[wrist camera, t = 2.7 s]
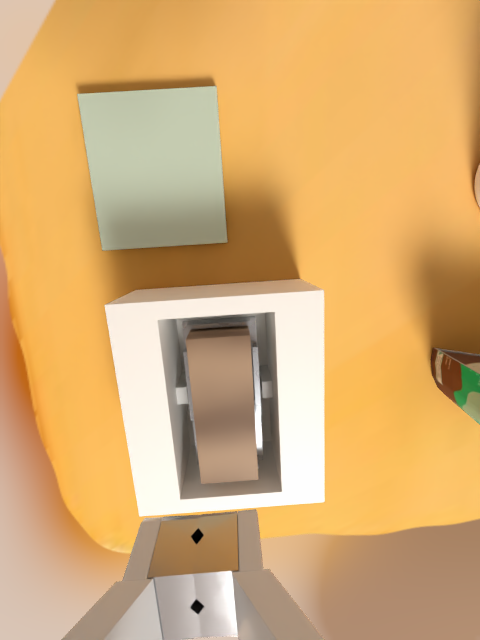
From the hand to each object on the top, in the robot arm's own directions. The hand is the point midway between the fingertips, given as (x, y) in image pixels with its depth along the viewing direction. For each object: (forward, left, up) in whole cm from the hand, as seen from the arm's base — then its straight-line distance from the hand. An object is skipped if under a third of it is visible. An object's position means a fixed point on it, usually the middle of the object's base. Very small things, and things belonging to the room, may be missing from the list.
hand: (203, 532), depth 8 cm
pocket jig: (+4, 0, -20) cm, 20 cm away
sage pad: (-13, -4, -20) cm, 24 cm away
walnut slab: (+4, 0, -16) cm, 16 cm away
